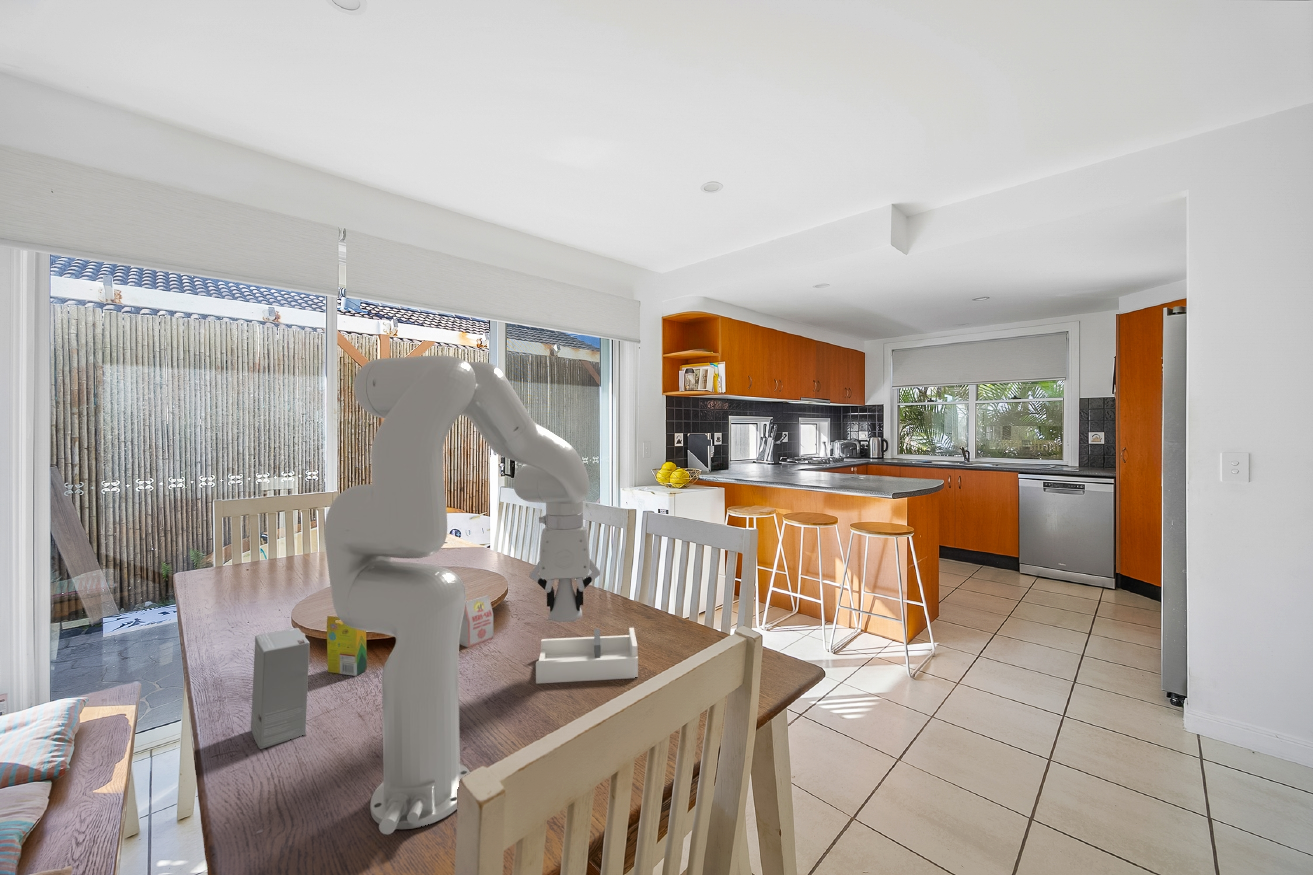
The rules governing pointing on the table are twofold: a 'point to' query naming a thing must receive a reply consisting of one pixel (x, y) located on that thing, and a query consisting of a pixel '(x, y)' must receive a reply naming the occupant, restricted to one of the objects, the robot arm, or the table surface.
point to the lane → (587, 659)
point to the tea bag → (477, 622)
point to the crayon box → (345, 648)
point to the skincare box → (279, 687)
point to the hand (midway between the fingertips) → (565, 608)
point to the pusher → (597, 644)
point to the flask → (565, 603)
